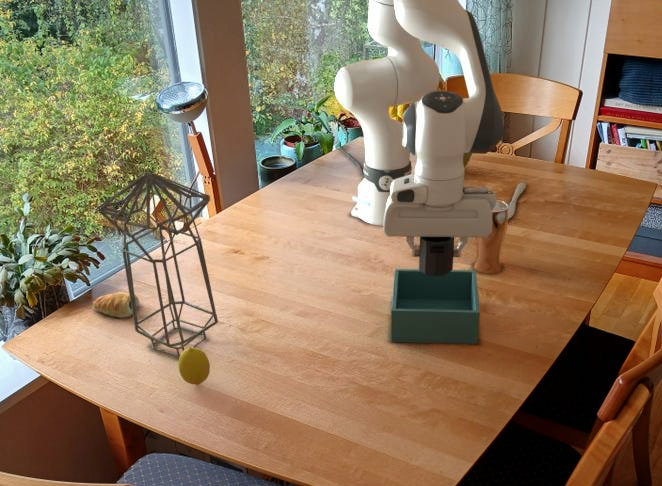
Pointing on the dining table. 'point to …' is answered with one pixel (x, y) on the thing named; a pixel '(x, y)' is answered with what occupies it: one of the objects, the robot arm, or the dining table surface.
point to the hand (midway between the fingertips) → (436, 255)
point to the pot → (436, 255)
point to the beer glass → (492, 241)
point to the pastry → (115, 304)
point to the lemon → (194, 365)
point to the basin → (435, 307)
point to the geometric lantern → (162, 184)
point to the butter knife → (515, 199)
